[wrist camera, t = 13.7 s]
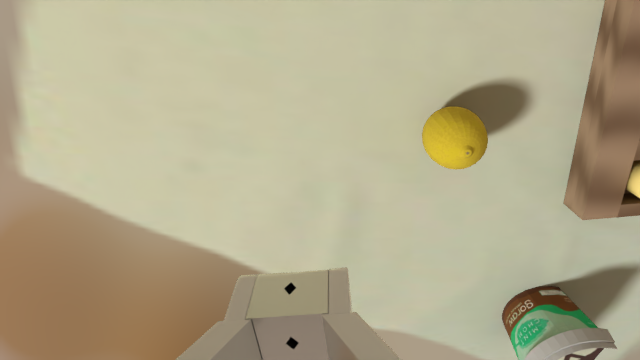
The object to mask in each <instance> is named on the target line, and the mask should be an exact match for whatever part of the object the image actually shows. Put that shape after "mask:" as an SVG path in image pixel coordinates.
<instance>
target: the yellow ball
mask: <svg viewBox="0 0 640 360" xmlns="http://www.w3.org/2000/svg"><path fill="white" fill-rule="evenodd" d="M626 190H628V191H629V192H631V193H632V194H634V195H635V196H637V197H639V198H640V160H635V161H633V164H632V168H631V171H630V175H629V178H628V182H627V185H626Z"/></svg>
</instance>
